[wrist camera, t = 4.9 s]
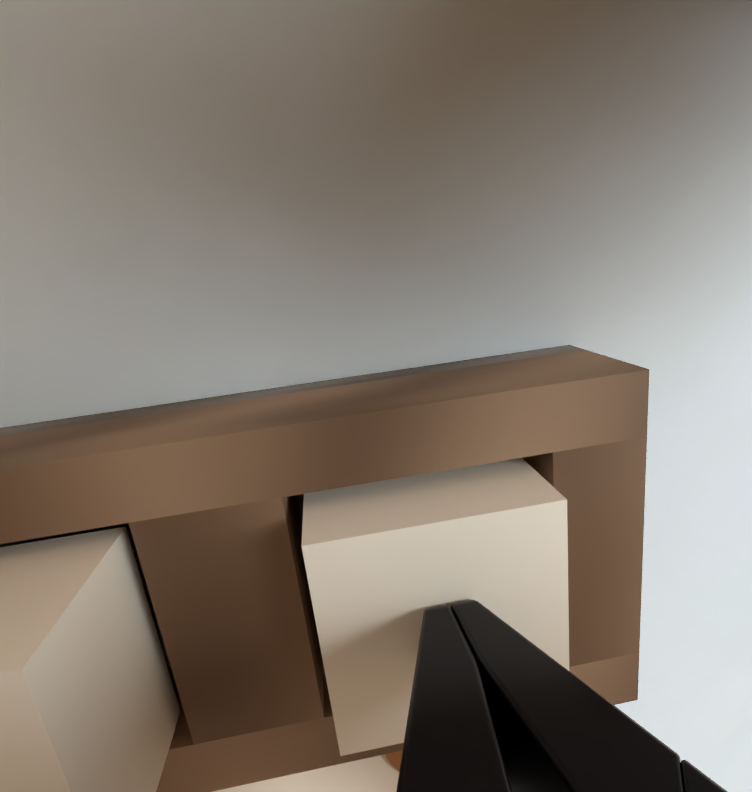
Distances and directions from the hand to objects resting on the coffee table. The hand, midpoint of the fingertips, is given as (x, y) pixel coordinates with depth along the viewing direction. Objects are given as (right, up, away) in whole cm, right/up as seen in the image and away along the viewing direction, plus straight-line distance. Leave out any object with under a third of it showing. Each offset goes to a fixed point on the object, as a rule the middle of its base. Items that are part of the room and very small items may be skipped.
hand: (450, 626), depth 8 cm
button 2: (0, +1, +3) cm, 3 cm away
